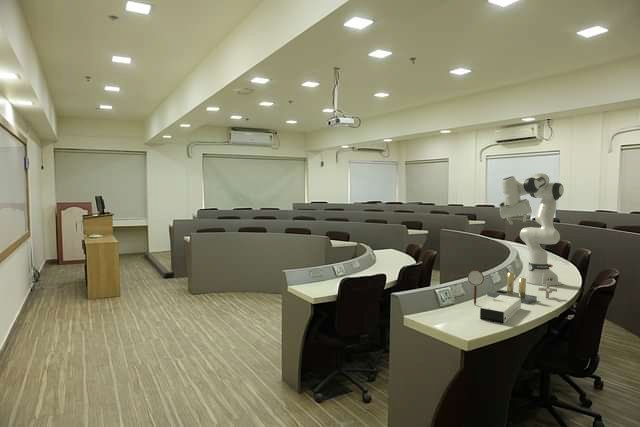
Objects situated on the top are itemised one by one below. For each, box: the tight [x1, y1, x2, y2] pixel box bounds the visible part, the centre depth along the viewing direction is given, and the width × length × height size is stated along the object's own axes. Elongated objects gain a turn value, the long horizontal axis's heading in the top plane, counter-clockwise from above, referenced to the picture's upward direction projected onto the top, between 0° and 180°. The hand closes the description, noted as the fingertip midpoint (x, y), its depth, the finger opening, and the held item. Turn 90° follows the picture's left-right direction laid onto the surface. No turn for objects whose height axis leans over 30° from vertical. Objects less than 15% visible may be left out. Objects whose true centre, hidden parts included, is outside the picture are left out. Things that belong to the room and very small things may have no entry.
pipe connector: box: [537, 281, 558, 299], centre depth 248 cm, size 10×10×10 cm
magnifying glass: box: [467, 269, 485, 306], centre depth 230 cm, size 9×2×20 cm, turn 57°
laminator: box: [479, 295, 522, 324], centre depth 215 cm, size 34×12×6 cm, turn 141°
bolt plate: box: [487, 277, 538, 305], centre depth 246 cm, size 24×12×13 cm, turn 42°
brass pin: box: [506, 271, 515, 292], centre depth 259 cm, size 4×4×13 cm
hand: (517, 223), depth 258 cm, fingers open, 8 cm apart
